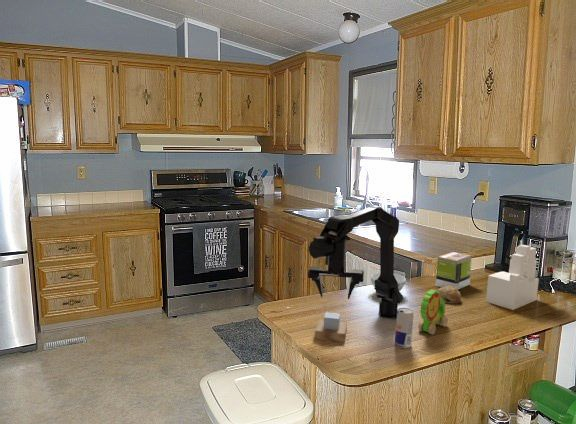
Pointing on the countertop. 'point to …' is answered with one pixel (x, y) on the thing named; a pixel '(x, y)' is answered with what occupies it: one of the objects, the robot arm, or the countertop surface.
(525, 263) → the building blocks
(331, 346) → the countertop surface
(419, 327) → the toy lion
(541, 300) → the countertop surface
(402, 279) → the chinaware
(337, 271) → the robot arm
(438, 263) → the tea box
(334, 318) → the blue-grey squarish block
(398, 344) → the energy drink
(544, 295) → the countertop surface
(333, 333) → the base block
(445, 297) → the bread roll
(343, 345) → the countertop surface
